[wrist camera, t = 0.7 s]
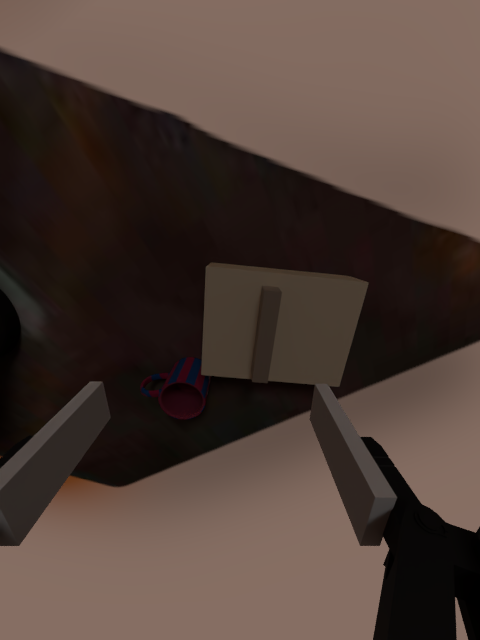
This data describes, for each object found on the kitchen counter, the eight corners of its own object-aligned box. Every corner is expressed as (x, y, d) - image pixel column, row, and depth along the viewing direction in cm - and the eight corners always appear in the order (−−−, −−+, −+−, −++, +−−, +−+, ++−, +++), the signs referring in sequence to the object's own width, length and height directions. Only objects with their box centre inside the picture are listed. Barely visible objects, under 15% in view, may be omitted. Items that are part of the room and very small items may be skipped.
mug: (206, 394, 40) (200, 423, 34) (150, 382, 39) (132, 409, 33) (215, 362, 38) (209, 386, 32) (155, 348, 37) (137, 370, 31)
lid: (201, 372, 33) (197, 387, 30) (206, 266, 28) (202, 269, 25) (337, 384, 34) (348, 400, 30) (366, 281, 29) (382, 287, 25)
